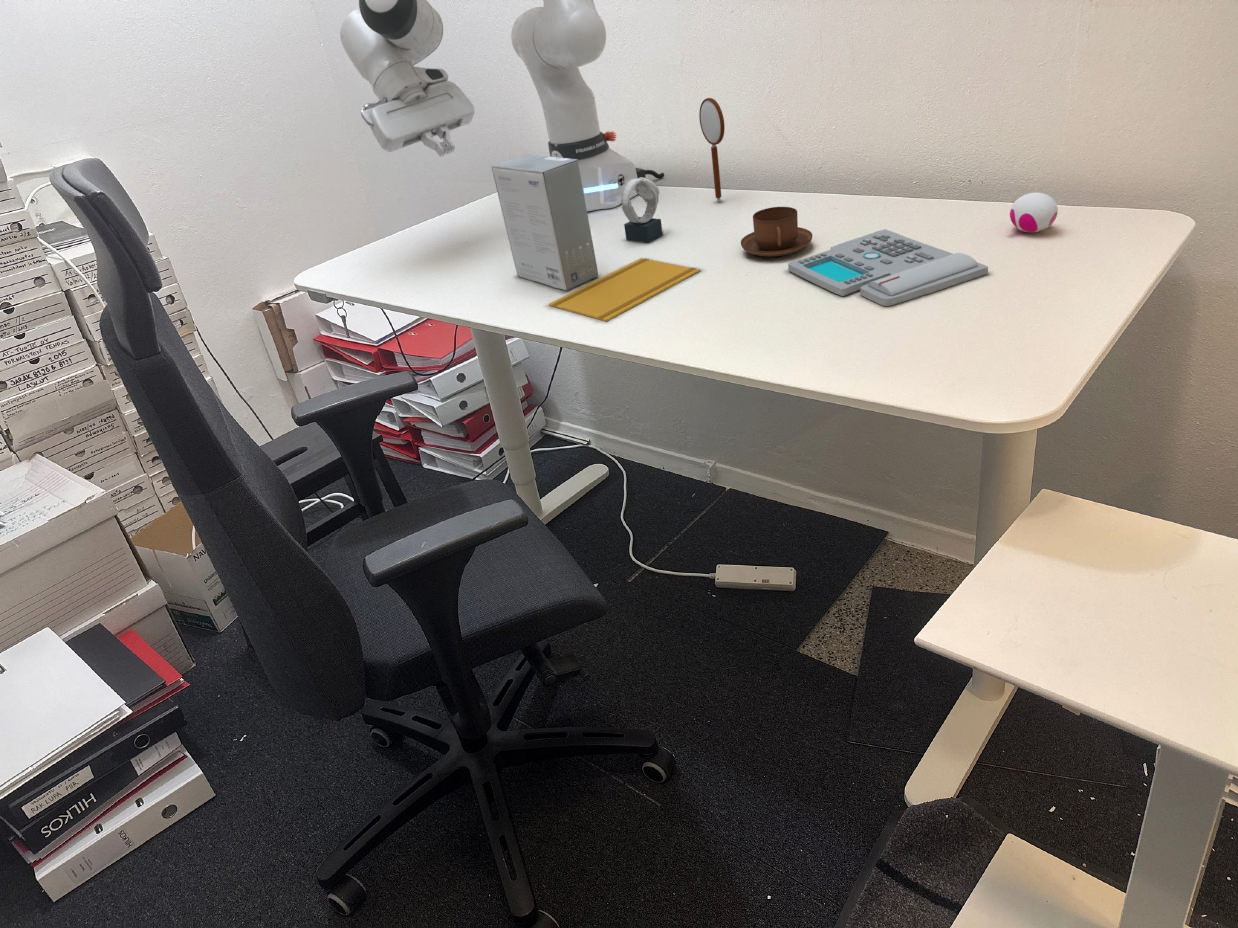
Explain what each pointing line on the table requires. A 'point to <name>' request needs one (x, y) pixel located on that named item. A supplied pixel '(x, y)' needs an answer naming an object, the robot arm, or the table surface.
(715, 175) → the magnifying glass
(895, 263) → the office telephone
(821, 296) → the table surface
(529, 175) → the hard drive box
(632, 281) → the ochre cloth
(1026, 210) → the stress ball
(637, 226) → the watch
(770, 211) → the cup and saucer
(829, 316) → the table surface
